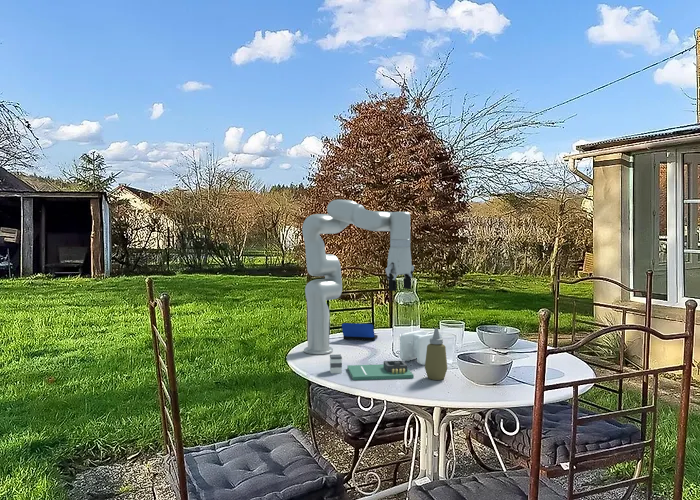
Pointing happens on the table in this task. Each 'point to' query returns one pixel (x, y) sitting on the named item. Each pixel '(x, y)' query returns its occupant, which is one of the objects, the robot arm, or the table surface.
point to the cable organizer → (415, 346)
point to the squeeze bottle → (436, 358)
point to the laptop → (358, 331)
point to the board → (380, 371)
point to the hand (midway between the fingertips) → (400, 289)
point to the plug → (336, 363)
